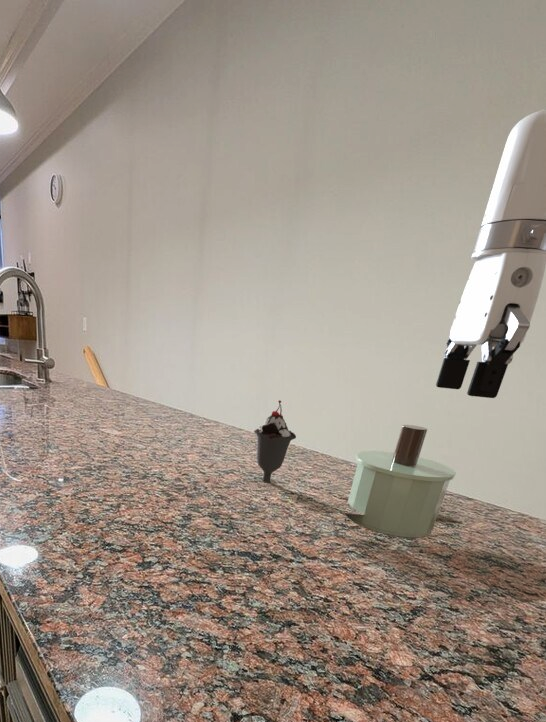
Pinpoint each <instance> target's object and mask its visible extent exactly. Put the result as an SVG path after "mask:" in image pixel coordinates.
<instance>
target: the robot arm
mask: <svg viewBox="0 0 546 722" xmlns="http://www.w3.org/2000/svg"><path fill="white" fill-rule="evenodd" d="M491 188H492V189H491V191H490V195H489V199H488V201H487V204H486V207H485V212H484V215H483V218H482V222H481V225H480V227H479V231H478V234H477V238H476V241H475V245H474V247H473V251H472V254H471V257H470V260H471V261H473V262H474V264H473V267H472V268H471V271H470V274H469V276H468V279H467V281H466V284H465V287H464V289H463V292H462V295H461V298H460V300H459V303H458V305H457V308H456V309H457V310H456V312H455V314H454V318H453V322H452V325H451V326H450V329H449V337H448V340H447V341H446V349H445V351H444V353H443V354H444V355H443V361H442V364H441V367H440V371H439V374H438V377H437V380H436V383H435V386H436V388H441V389H451V390H460V389H461V388H462V386H463V383H464V380H465V378H466V374H467V370H468V367H469V365H470V361H471V360H470V359H469V357H470V355H471V354H472V352H473V351H474V349H475V348H476V347H477V346H478V345H480V347H481V348H480V350H481V361H477V362H476V364H475V367H474V371H473V374H472V377H471V379H470V383H469V386H468V389H467V392H466V394H467V396H470V397H476V398H477V397H478V398H487V399H495V398H496V397H498V394H499V391H500V388H501V385H502V383H503V380H504V378H505V374H506V371H507V369H508V366H509V365H510V364H511V363H512V362H513V359H514V354H515V353H516V351H517V350H518V349H519V348H521V344H522V343H523V342H524V340H525V338H526V336H527V333H528V330H529V329H530V326H531V321H532V318H533V315H534V312H535V308H536V306H537V302H538V298H539V296H540V291H541V288H542V284H543V279H544V275H545V271H546V270H545V269H546V108H544V109H540V110H537V111H535V112H532V113H530V114H528V115H525V117H523V118H522V119H520V120H519V121H518V122H517V123H516V124H515V125H514V126H513V127H512V129H511V131H510V133H509V134H508V136H507V140H506V142H505V145H504V149H503V151H502V154H501V158H500V162H499V165H498V168H497V171H496V175H495V177H494V182H493V185H492V187H491Z"/></svg>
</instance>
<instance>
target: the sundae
mask: <svg viewBox="0 0 546 722" xmlns="http://www.w3.org/2000/svg"><path fill="white" fill-rule="evenodd" d="M281 403H282V400H280V399H279V400H278V404H279V405H278V407H277V409H276V410H273V411H272V412H271V415H270V416H268V417H266V419H265V420H264V421H263V424H261V426H259V427H258V428H257V429H254V431H253V432H254V434H256V436H257V446H256V447H257V451H256V460H257V461H256V462H257V464H258V466H259V468H261V470H262V471H263V475H262V477H263V478H262V481H261V482H264V483H271V478H272V477H271V476H272V473H274V472H275V471H277V470H279V469H280V468H281V467H282V466H283V463H284V460H285V457H286V455H287V451H288V448H289V446H290V443H291V441H292V440H295V439H296V438H297V435H296V434H295V432H293V431H291V430H289V428H288V425H287V423H286V421H285V419H284V416H283V414H282V412H283V411H282V410H283V409H282V405H281ZM279 410H280V413H279V412H278V411H279Z"/></svg>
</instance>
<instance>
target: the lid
mask: <svg viewBox="0 0 546 722" xmlns="http://www.w3.org/2000/svg"><path fill="white" fill-rule="evenodd" d="M427 433H428V428H427V427H424V426H419V425H414V424H402V425H401V429H400V432H399V435H398V438H397V441H396V445H395V449H394V452H392V451H383V450H382V451H381V450H365V451H360V452H357V453H356V454H355V457H354V458H355V459H354V460H355V462H356V463H357V464H358V463H359V464H361V465H363V466H365V467H367V468H370V469H372V470H375V471H378V472H382V473H385V474H389V475H393V476H398V477H403V478H408V479H414V480H422V481H449V480H450V481H452V480H453V479H455V477H456V471H455V470H454V469H453V468H451V467H450V466H447V465H445V464H444V463H443V464H442V463H440V462H437V461H434V460H431V459H428V458H424V457H420V456H421V451H422V448H423V445H424V442H425V439H426V436H427ZM450 481H449V482H450Z"/></svg>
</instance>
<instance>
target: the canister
mask: <svg viewBox="0 0 546 722" xmlns="http://www.w3.org/2000/svg"><path fill="white" fill-rule="evenodd" d="M450 481H451V480H449V481H422V480H414V479H408V478H403V477H398V476H393V475H389V474H385V473H382V472H378V471H375V470H372V469H370V468H367V467H365V466H363V465H361V464H359V463H358V462H357V464H356V468H355V472H354V475H353V480H352V484H351V487H350V490H349V495H348V499H347V504H348V505H349V506H350V507H351V508H352V509H354V510H355V511H357V512H358V513H361V514H355V513H345V515H346V517H347V518H348V519H349V520H350V521H352V522H354V523H355V524H356V525H359V526H361V527H362V528H364V529H368V530H370V531H374V532H376V533H377V532H378V533H379V534H380V533H381V534H384V535H387V536H393V537H398V538H399V537H400V538H410V539H411V538H412V539H413V538H414V539H416V538H417V539H418V538H424V537H427V536H429V535H431V533H432V531H433V530H434V527H435V525H436V521H437V518H438V516H439V513H440V510H441V507H442V504H443V501H444V498H445V495H446V493H447V489H448V487H449V484H450Z"/></svg>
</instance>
